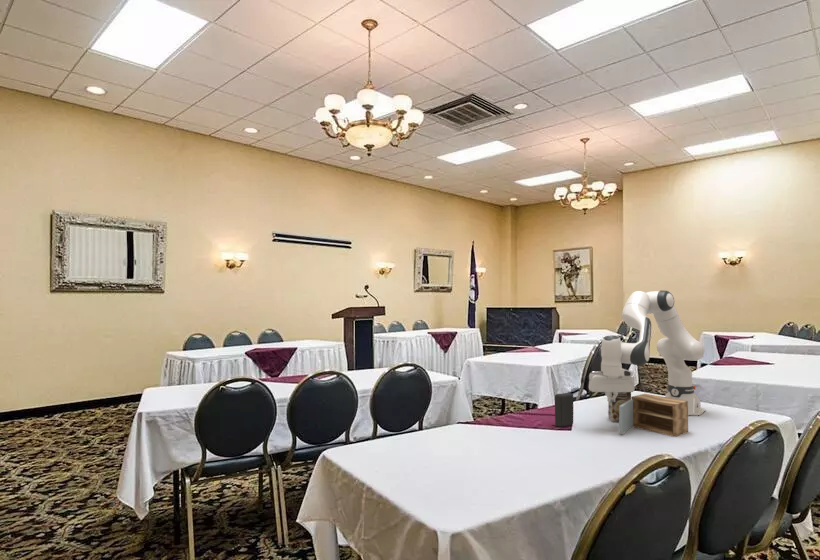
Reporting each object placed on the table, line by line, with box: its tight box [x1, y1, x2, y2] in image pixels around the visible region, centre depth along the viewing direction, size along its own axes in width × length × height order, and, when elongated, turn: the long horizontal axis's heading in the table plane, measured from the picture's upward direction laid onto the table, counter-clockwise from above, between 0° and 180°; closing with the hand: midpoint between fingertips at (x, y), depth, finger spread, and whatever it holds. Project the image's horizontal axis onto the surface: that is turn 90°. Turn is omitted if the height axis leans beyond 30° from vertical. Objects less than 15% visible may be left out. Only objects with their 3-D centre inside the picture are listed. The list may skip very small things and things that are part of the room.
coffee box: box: [607, 392, 632, 423], centre depth 241 cm, size 9×6×16 cm
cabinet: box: [631, 393, 689, 438], centre depth 227 cm, size 12×20×14 cm, turn 36°
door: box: [618, 399, 633, 435], centre depth 223 cm, size 1×19×12 cm, turn 141°
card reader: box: [554, 392, 574, 428], centre depth 233 cm, size 9×4×15 cm, turn 119°
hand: (611, 401), depth 224 cm, fingers closed
